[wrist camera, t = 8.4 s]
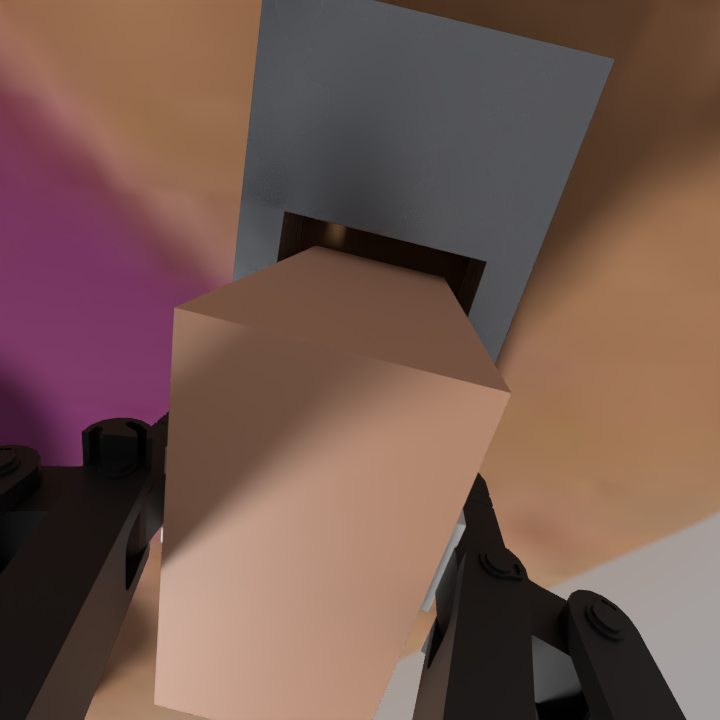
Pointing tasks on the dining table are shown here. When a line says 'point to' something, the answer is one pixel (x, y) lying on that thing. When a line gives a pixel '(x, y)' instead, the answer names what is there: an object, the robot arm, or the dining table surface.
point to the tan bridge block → (312, 482)
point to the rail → (413, 140)
